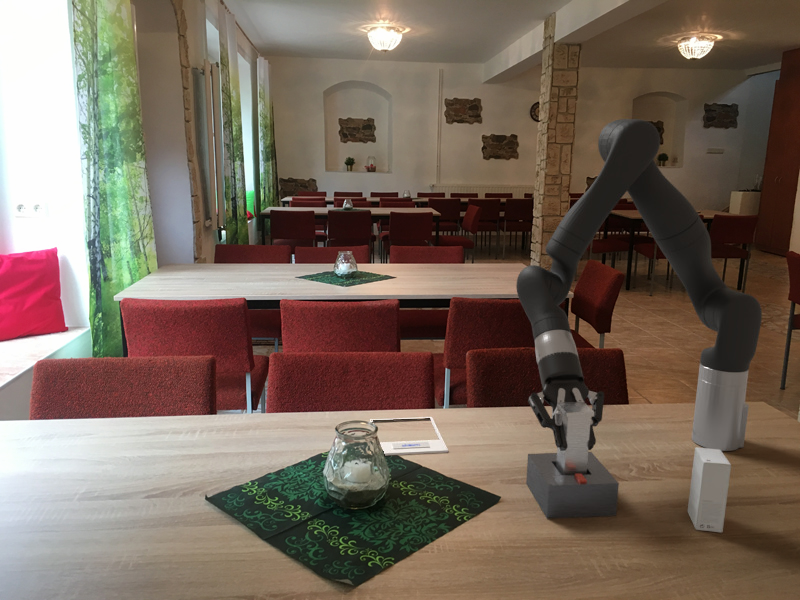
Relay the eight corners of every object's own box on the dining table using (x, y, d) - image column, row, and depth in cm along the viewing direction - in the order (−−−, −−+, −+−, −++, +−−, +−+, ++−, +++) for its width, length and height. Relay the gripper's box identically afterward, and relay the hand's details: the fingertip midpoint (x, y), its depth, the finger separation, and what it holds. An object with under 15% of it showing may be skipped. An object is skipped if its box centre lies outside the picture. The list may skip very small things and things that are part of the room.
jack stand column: (577, 490, 116) (583, 401, 112) (587, 504, 111) (594, 411, 107) (551, 491, 115) (557, 402, 112) (560, 505, 110) (566, 412, 107)
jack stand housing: (588, 481, 119) (591, 449, 118) (615, 515, 108) (619, 480, 106) (526, 483, 118) (528, 451, 117) (546, 518, 107) (549, 482, 105)
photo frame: (377, 452, 129) (369, 418, 146) (377, 458, 129) (369, 423, 147) (448, 449, 131) (431, 415, 148) (447, 454, 131) (431, 420, 149)
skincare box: (723, 533, 103) (732, 465, 100) (695, 530, 104) (703, 462, 101) (713, 514, 109) (721, 448, 106) (686, 511, 109) (693, 446, 107)
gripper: (525, 350, 114) (542, 442, 105) (601, 349, 116) (625, 439, 106) (515, 369, 121) (531, 457, 111) (588, 368, 122) (609, 455, 113)
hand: (577, 448), depth 109 cm, fingers closed on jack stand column, 4 cm apart
